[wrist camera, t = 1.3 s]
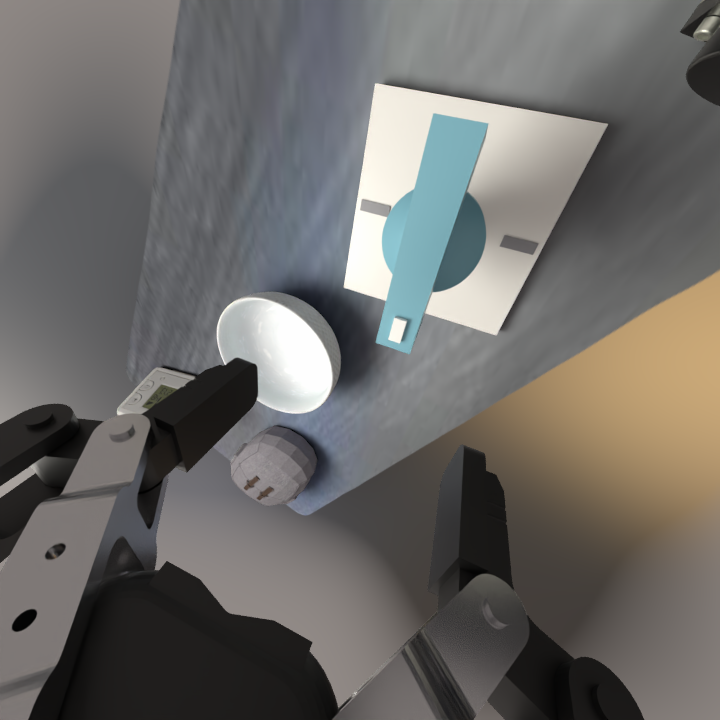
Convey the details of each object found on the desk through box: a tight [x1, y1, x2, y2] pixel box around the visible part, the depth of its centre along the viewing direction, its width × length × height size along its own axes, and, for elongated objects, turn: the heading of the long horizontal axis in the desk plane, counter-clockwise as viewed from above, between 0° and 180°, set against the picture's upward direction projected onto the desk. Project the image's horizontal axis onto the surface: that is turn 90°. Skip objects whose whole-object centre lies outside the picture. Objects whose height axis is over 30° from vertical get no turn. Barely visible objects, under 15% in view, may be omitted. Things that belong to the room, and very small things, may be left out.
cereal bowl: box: [217, 291, 341, 413], centre depth 39 cm, size 17×17×7 cm
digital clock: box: [117, 367, 196, 415], centre depth 53 cm, size 16×9×11 cm, turn 76°
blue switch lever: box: [376, 113, 489, 354], centre depth 19 cm, size 12×7×8 cm, turn 169°
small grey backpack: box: [230, 426, 317, 506], centre depth 55 cm, size 15×8×20 cm
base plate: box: [344, 83, 608, 335], centre depth 25 cm, size 18×18×8 cm
